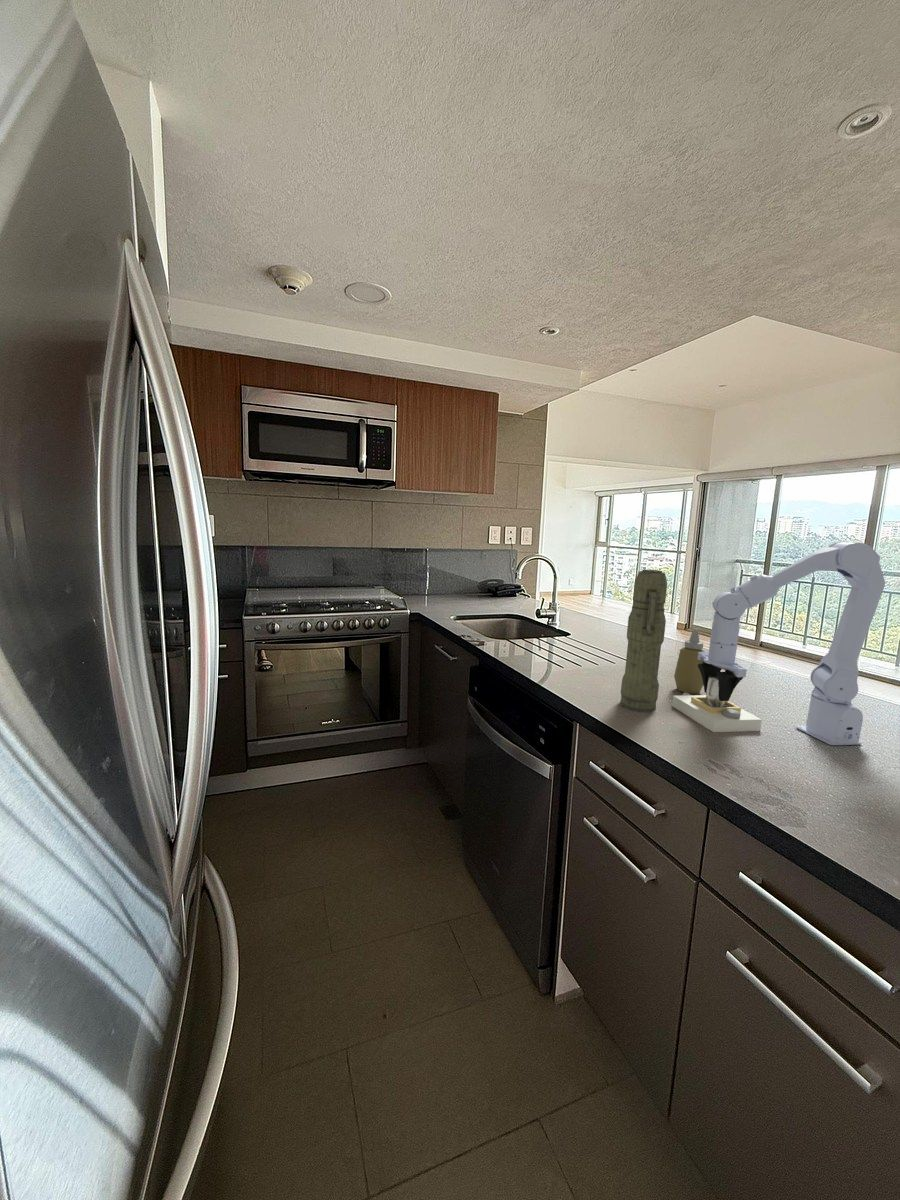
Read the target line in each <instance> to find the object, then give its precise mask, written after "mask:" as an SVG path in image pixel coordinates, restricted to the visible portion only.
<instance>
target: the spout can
mask: <svg viewBox="0 0 900 1200" xmlns="http://www.w3.org/2000/svg"><path fill="white" fill-rule="evenodd" d="M705 695H706V699H705V704H707V705H709V706H711V707H727V704H728V701H720V700H719V680H718V676H717V675H710V676H709V677H708V684H707V692H706V693H705Z"/></svg>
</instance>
